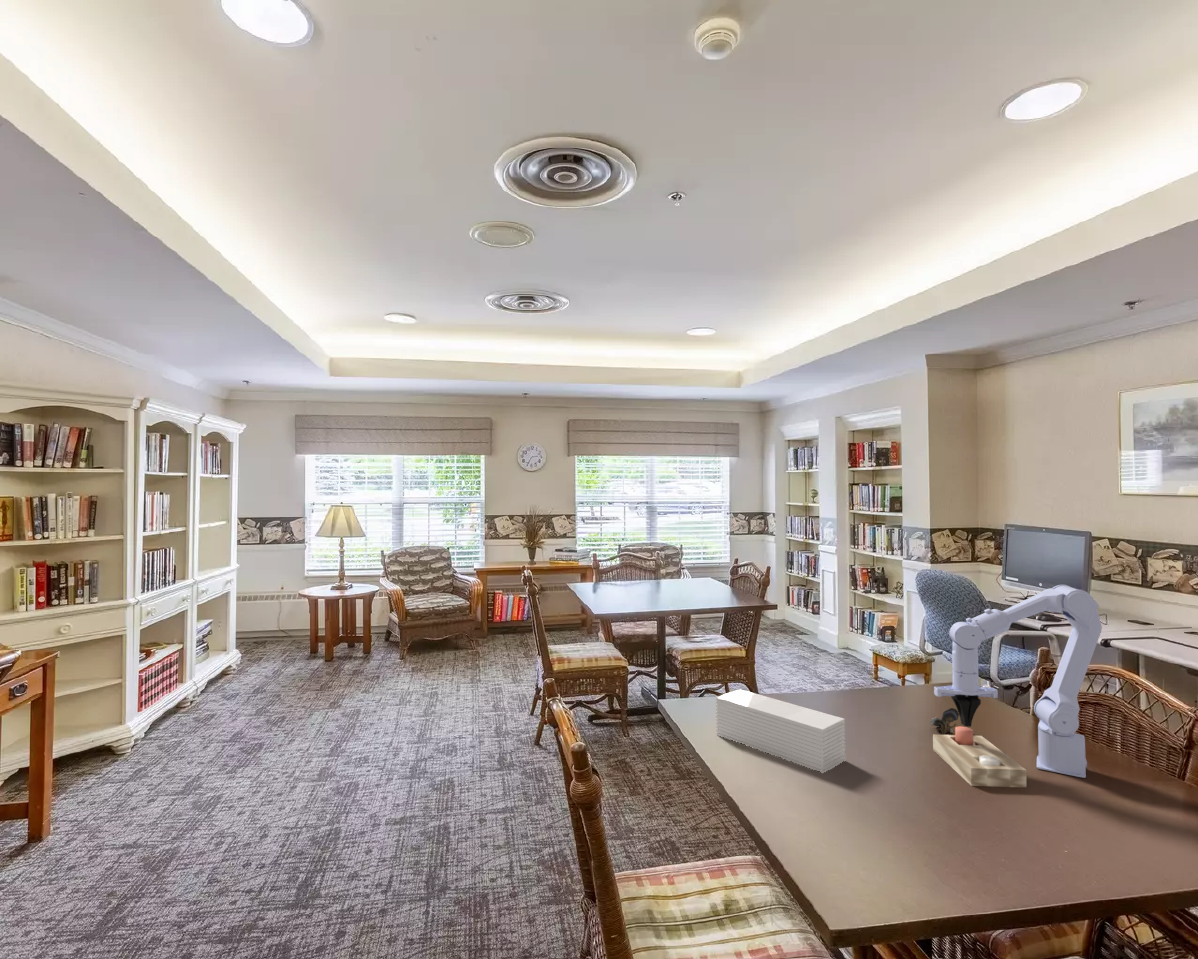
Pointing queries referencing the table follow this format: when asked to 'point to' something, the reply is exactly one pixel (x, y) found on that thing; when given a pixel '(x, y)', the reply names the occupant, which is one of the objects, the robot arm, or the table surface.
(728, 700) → the stack of papers
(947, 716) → the eagle figurine
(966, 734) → the pink rounded plug
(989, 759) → the ivory plunger
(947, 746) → the press housing
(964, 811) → the table surface
